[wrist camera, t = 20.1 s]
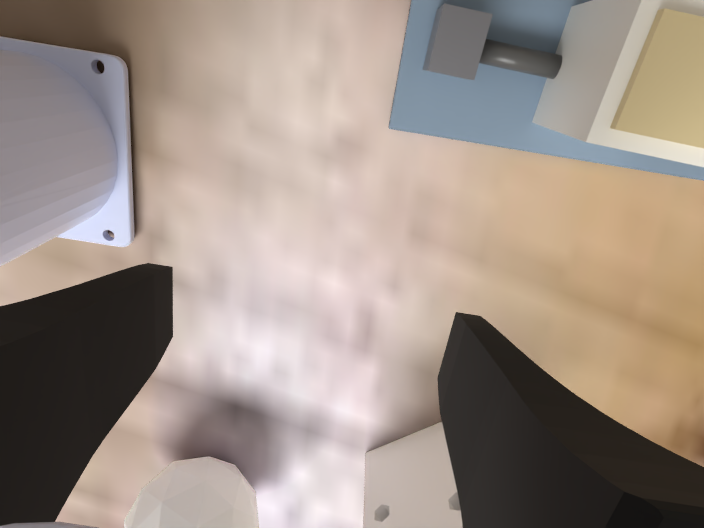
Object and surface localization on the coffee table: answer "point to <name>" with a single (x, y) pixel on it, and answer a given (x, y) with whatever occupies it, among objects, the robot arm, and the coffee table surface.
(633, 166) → the mat
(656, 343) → the coffee table surface
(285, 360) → the coffee table surface
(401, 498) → the white wedge bracket
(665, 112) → the wall lamp
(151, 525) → the ornament
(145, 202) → the coffee table surface
